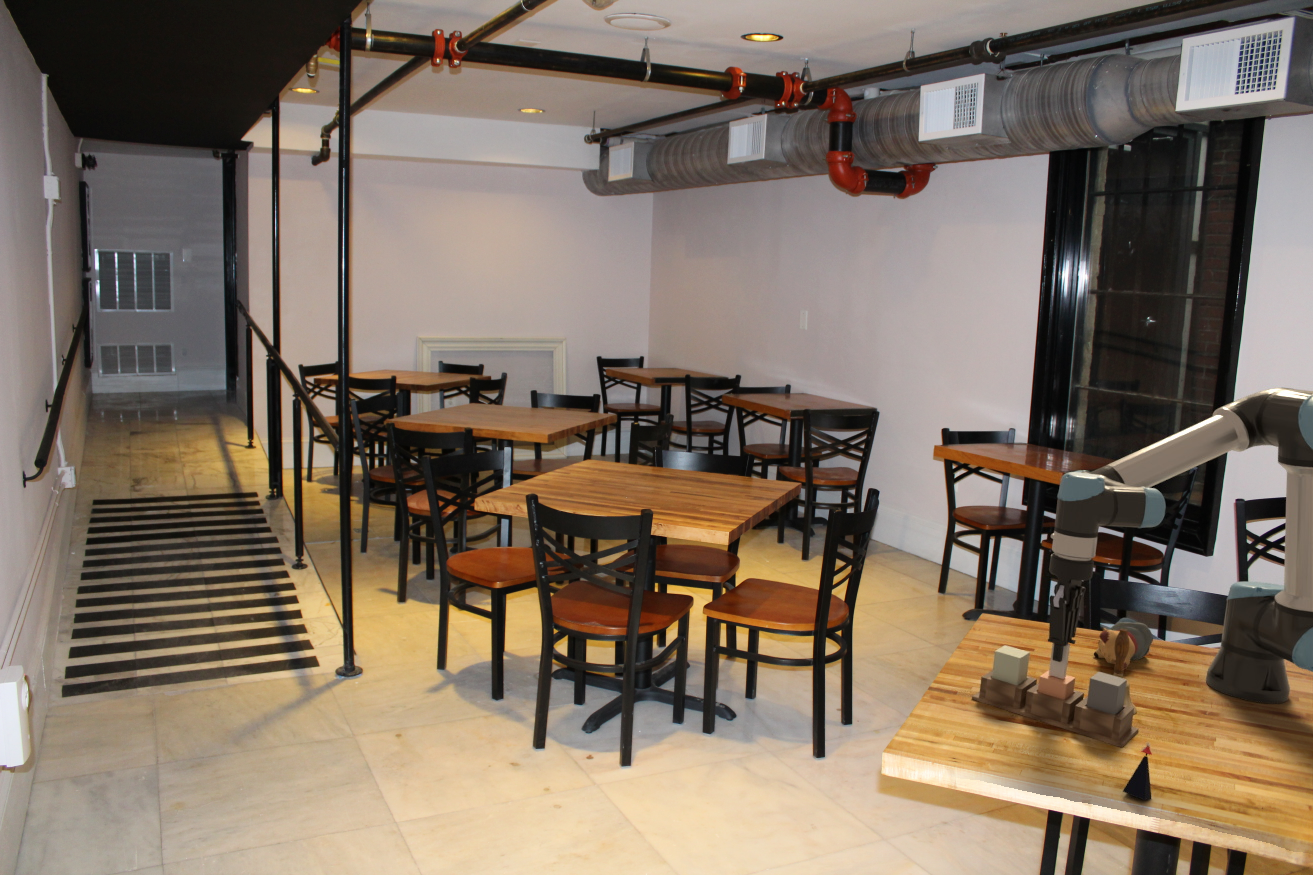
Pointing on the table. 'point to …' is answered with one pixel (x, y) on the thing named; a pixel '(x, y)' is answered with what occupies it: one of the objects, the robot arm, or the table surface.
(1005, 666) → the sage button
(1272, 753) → the table surface
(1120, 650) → the hand bell
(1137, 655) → the figurine
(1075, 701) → the wooden base
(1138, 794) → the figurine
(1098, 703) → the grey square block
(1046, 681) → the terracotta button
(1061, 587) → the robot arm
